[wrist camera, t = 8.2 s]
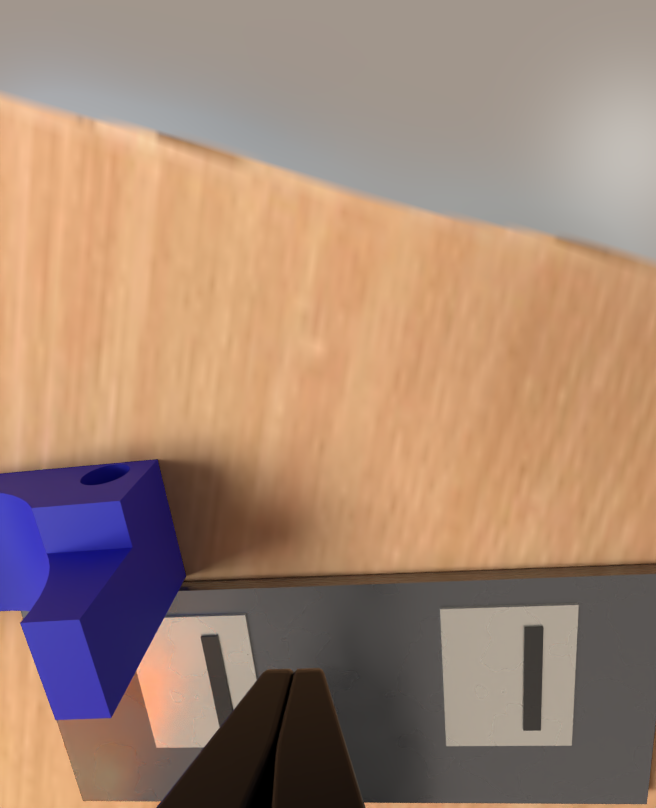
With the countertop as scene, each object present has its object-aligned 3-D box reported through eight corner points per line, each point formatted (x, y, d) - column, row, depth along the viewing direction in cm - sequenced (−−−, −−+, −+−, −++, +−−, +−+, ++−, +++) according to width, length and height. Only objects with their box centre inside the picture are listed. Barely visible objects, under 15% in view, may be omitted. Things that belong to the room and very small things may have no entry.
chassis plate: (640, 790, 21) (649, 808, 20) (89, 788, 23) (80, 805, 22) (664, 564, 18) (674, 576, 17) (24, 588, 20) (13, 600, 19)
